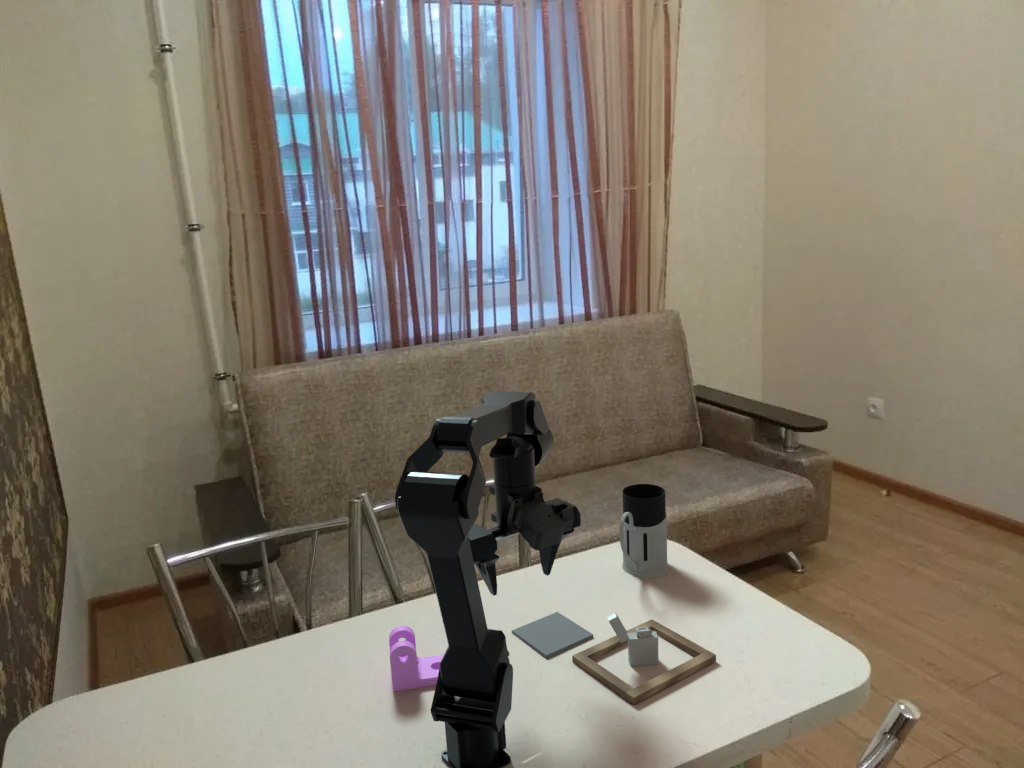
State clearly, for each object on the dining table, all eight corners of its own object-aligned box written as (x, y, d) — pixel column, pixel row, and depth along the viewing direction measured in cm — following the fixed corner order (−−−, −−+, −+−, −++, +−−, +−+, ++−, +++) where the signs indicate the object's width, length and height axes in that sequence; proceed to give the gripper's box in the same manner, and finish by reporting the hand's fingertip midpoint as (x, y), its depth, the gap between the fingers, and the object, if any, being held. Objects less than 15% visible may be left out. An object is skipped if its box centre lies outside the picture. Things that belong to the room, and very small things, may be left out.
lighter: (656, 657, 117) (655, 607, 115) (658, 664, 115) (658, 613, 113) (607, 661, 117) (606, 611, 115) (609, 667, 115) (608, 617, 113)
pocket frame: (633, 704, 106) (633, 697, 106) (572, 661, 117) (572, 655, 117) (716, 661, 115) (716, 654, 115) (652, 625, 125) (651, 619, 125)
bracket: (393, 692, 112) (388, 647, 111) (392, 670, 118) (387, 627, 116) (484, 678, 114) (481, 634, 113) (479, 657, 120) (476, 615, 118)
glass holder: (677, 564, 145) (676, 486, 142) (646, 598, 134) (644, 514, 130) (632, 555, 150) (630, 479, 147) (599, 587, 138) (596, 506, 135)
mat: (546, 658, 118) (546, 655, 118) (511, 633, 125) (511, 630, 125) (593, 637, 123) (593, 634, 123) (557, 615, 130) (557, 611, 130)
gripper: (489, 514, 98) (497, 629, 102) (604, 479, 109) (608, 584, 112) (444, 491, 107) (453, 597, 111) (554, 459, 118) (559, 558, 121)
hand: (520, 584), depth 113 cm, fingers open, 9 cm apart
